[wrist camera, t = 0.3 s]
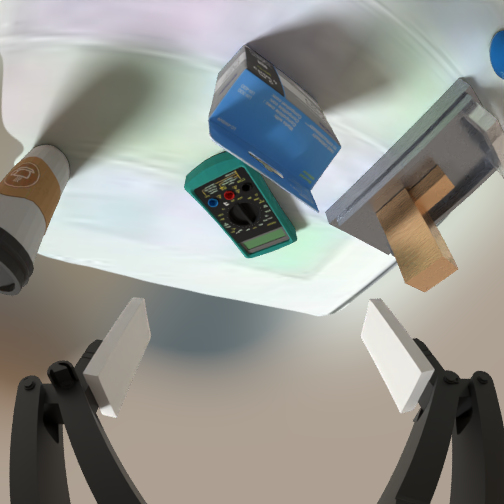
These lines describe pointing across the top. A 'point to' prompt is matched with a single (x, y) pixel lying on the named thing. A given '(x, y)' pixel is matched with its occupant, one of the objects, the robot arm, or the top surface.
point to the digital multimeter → (240, 204)
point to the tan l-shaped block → (419, 232)
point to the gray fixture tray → (426, 164)
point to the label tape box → (271, 124)
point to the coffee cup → (28, 212)
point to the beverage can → (497, 53)
